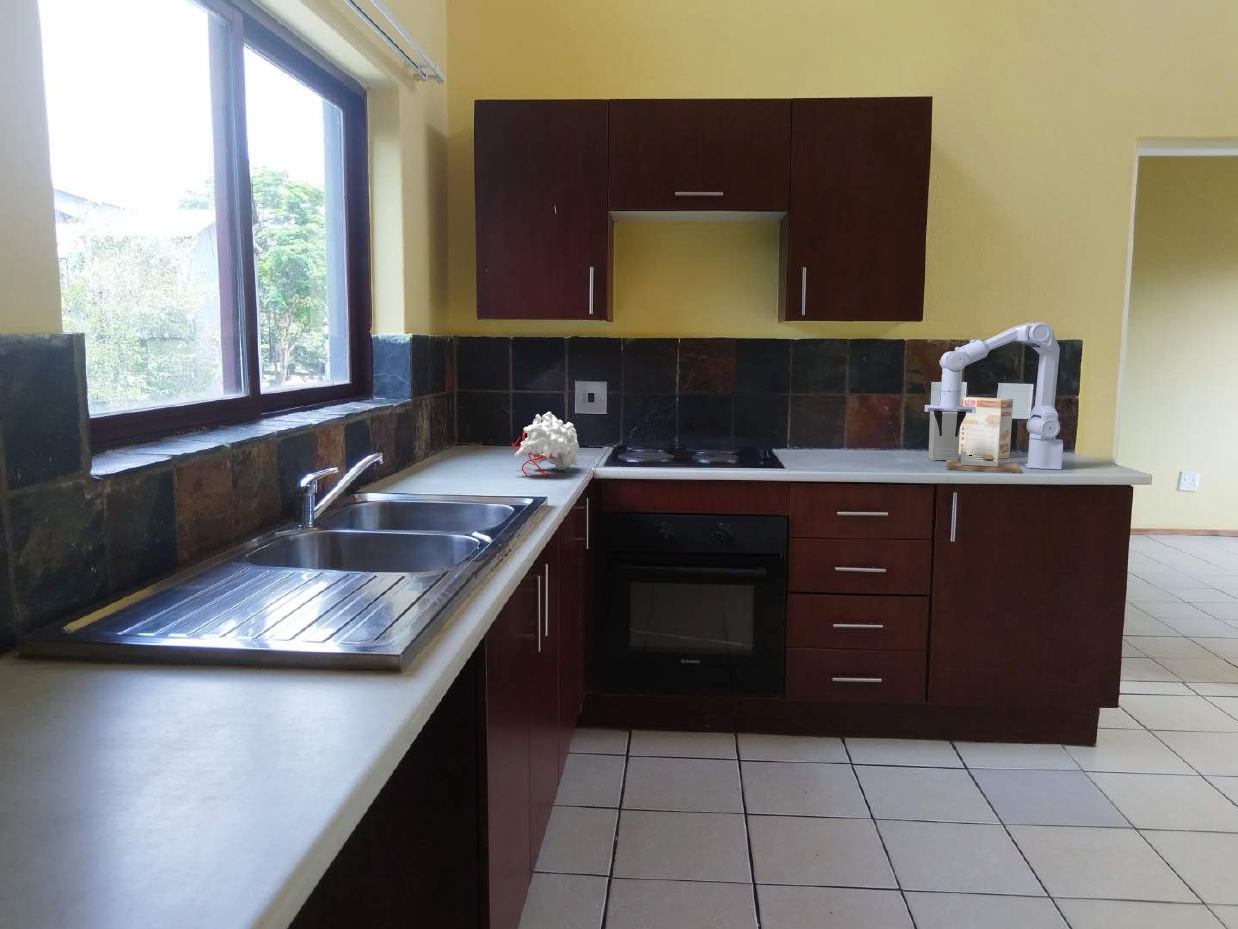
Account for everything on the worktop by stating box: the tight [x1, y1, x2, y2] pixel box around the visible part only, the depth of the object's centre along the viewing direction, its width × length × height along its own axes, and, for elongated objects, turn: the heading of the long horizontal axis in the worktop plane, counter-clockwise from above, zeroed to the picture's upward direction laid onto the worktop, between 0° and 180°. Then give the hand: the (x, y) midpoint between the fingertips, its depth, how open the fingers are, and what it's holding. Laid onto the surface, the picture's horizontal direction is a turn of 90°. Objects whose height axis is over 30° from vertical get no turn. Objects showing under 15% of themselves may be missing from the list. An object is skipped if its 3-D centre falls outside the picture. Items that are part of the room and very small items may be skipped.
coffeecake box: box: [959, 396, 1014, 460], centre depth 302 cm, size 15×7×20 cm, turn 34°
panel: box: [959, 447, 999, 467], centre depth 273 cm, size 10×11×4 cm
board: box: [945, 455, 1021, 474], centre depth 273 cm, size 20×14×4 cm
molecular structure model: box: [511, 411, 580, 478], centre depth 255 cm, size 20×18×25 cm
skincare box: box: [928, 412, 960, 461], centre depth 291 cm, size 8×7×16 cm
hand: (948, 436), depth 276 cm, fingers open, 4 cm apart
